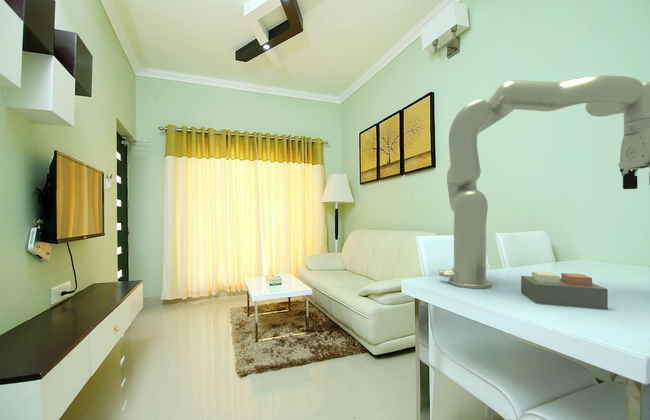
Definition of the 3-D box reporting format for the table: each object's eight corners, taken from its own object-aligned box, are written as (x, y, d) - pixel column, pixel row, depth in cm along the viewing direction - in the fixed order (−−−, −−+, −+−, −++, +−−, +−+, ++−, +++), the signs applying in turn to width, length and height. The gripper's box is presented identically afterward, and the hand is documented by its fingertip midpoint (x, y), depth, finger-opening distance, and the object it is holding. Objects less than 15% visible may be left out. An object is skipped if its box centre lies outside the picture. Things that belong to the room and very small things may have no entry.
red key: (570, 288, 73) (570, 276, 73) (561, 284, 77) (561, 272, 77) (592, 290, 72) (592, 277, 72) (581, 285, 76) (581, 274, 76)
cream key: (538, 286, 75) (538, 274, 75) (531, 282, 79) (531, 271, 79) (559, 288, 74) (559, 276, 74) (551, 283, 78) (551, 272, 78)
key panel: (535, 303, 73) (535, 284, 73) (521, 292, 82) (521, 275, 82) (607, 309, 69) (607, 289, 69) (583, 297, 78) (583, 279, 78)
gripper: (606, 136, 89) (606, 190, 89) (651, 119, 73) (651, 185, 73) (635, 135, 87) (636, 189, 87) (689, 117, 71) (689, 184, 70)
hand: (643, 187), depth 80 cm, fingers open, 9 cm apart
